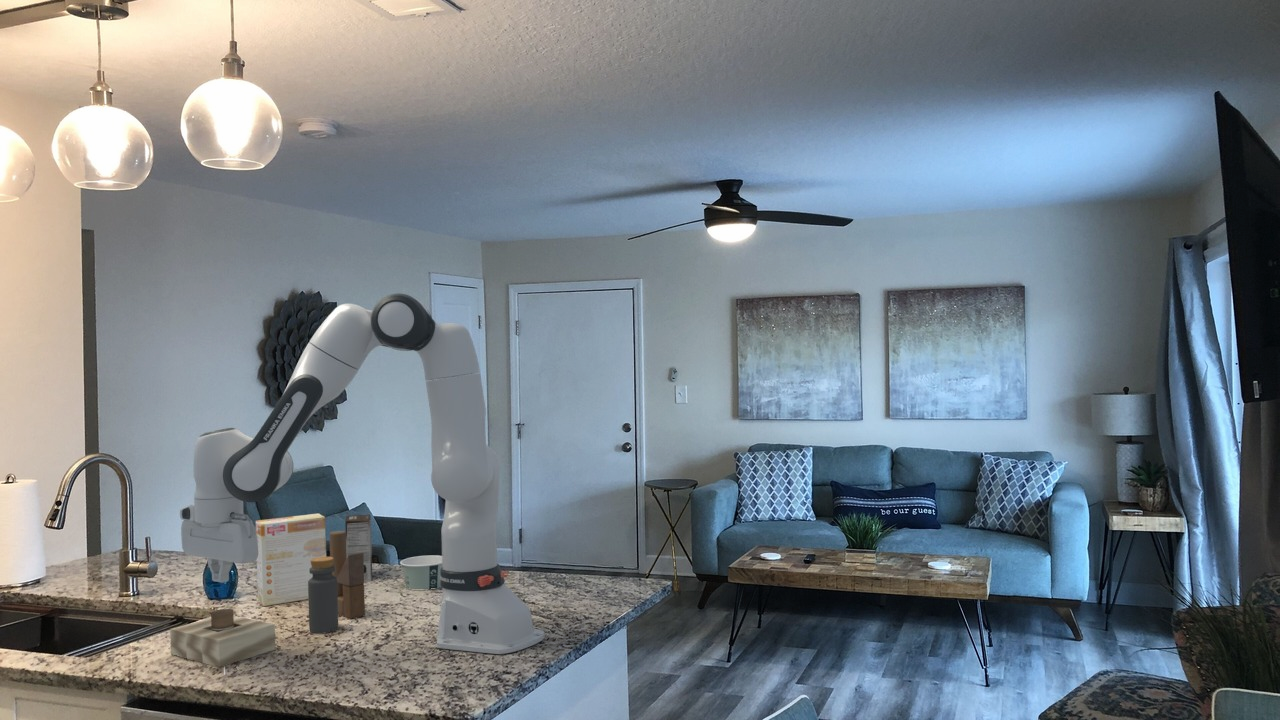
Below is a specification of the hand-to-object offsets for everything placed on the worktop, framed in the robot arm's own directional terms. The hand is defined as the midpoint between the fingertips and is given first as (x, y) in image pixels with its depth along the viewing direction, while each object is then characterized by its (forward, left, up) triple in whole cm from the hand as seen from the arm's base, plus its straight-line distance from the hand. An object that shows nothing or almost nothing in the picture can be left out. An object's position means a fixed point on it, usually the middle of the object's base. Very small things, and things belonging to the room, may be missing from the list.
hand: (220, 581), depth 184 cm
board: (0, 0, -14) cm, 14 cm away
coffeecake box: (+24, -34, -14) cm, 44 cm away
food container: (+4, -58, -14) cm, 60 cm away
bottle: (-5, -20, -14) cm, 25 cm away
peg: (0, 0, -14) cm, 14 cm away
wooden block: (+1, -31, -14) cm, 34 cm away
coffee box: (+26, -56, -14) cm, 63 cm away
